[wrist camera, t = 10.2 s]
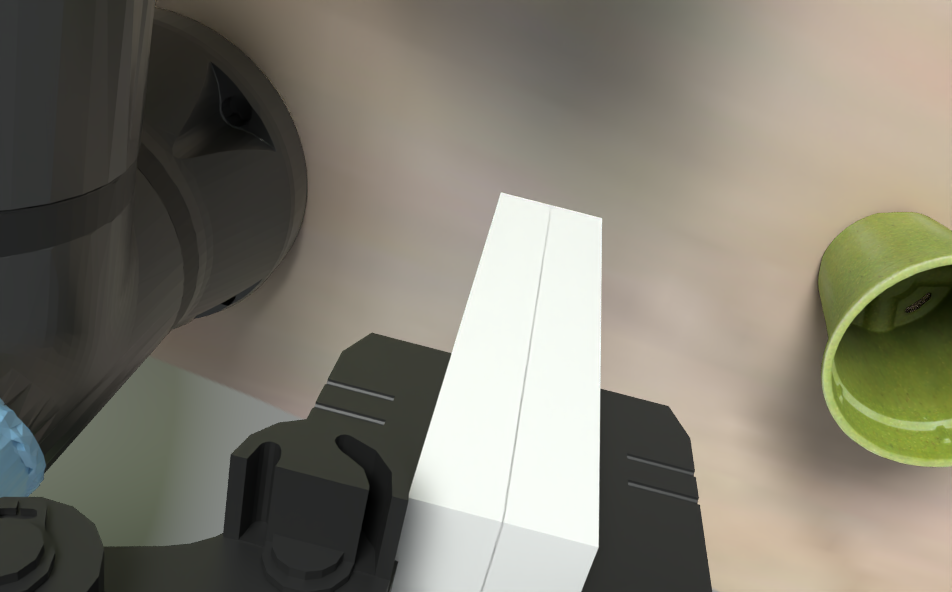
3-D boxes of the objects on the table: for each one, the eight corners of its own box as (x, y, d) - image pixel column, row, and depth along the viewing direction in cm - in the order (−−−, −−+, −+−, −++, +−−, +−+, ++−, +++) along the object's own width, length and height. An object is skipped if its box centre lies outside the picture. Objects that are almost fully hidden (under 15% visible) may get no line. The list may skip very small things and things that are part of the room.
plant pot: (902, 129, 36) (981, 203, 29) (1043, 262, 38) (1152, 365, 31) (738, 274, 41) (769, 372, 33) (873, 388, 42) (932, 505, 35)
